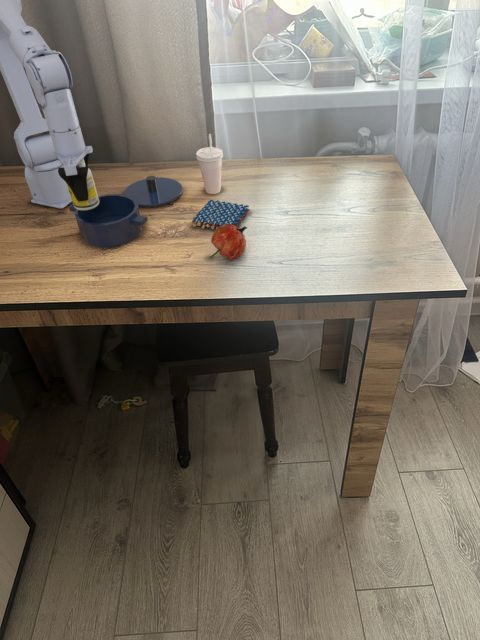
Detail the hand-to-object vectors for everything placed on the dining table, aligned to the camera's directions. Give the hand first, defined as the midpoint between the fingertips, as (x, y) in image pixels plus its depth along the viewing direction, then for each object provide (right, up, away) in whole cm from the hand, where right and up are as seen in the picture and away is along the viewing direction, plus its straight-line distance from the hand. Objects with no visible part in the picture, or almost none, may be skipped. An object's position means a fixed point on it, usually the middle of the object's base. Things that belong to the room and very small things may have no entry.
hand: (83, 193), depth 105 cm
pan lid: (+10, +6, +20) cm, 23 cm away
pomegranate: (+30, -13, 0) cm, 33 cm away
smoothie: (+25, +7, +21) cm, 34 cm away
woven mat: (+28, -3, +11) cm, 30 cm away
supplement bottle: (0, -2, +2) cm, 3 cm away
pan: (+3, -6, +8) cm, 11 cm away
